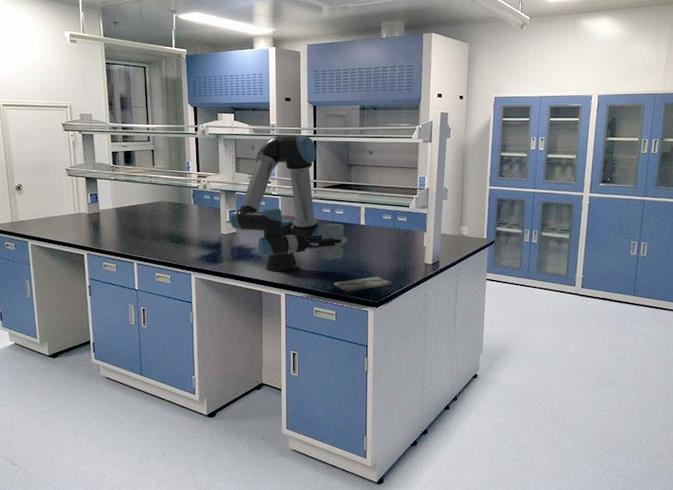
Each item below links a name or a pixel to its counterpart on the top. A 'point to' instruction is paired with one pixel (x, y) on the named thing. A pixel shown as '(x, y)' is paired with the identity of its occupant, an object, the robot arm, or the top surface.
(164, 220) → the top surface
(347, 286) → the board
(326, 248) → the skincare box
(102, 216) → the top surface
